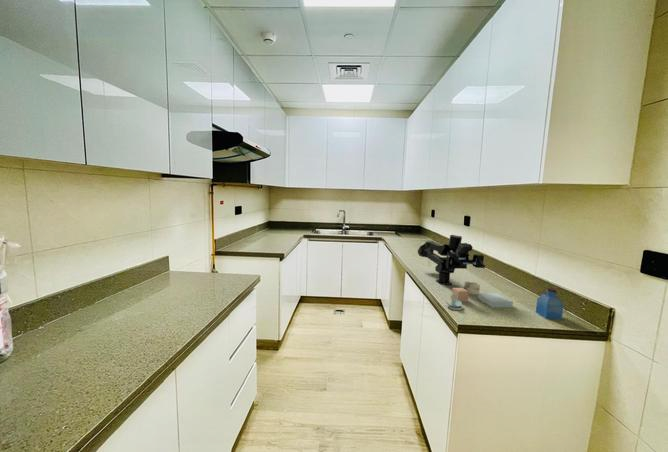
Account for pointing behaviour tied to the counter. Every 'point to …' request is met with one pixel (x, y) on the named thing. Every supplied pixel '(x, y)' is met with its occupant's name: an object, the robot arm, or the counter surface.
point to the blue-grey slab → (495, 300)
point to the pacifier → (455, 303)
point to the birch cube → (472, 287)
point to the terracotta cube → (461, 294)
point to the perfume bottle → (550, 305)
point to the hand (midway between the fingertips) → (475, 267)
